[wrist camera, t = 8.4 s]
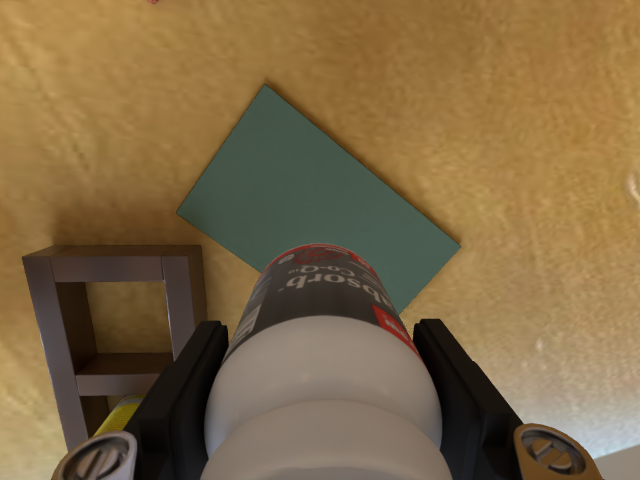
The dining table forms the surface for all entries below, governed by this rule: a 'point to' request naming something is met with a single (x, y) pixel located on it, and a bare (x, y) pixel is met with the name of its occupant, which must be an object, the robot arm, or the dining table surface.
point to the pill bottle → (322, 381)
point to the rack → (77, 333)
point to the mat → (310, 201)
